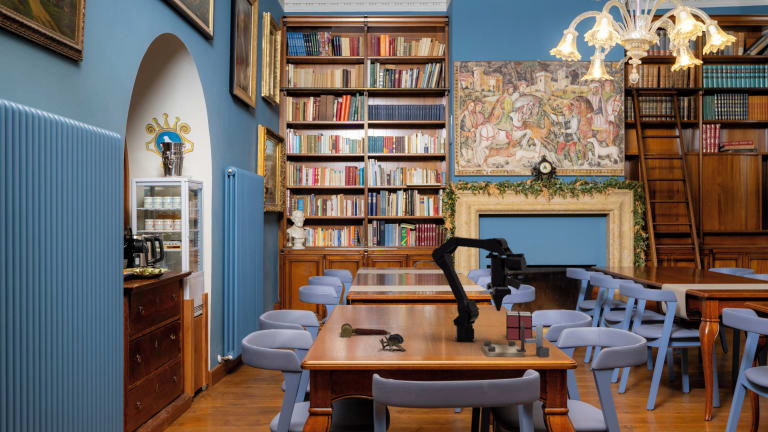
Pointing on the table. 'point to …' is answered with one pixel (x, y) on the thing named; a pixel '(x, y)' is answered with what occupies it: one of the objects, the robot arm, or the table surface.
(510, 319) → the puzzle cube
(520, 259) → the robot arm
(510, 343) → the stool seat
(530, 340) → the folding leg
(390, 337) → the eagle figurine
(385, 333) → the gavel
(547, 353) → the corner bracket
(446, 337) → the table surface
